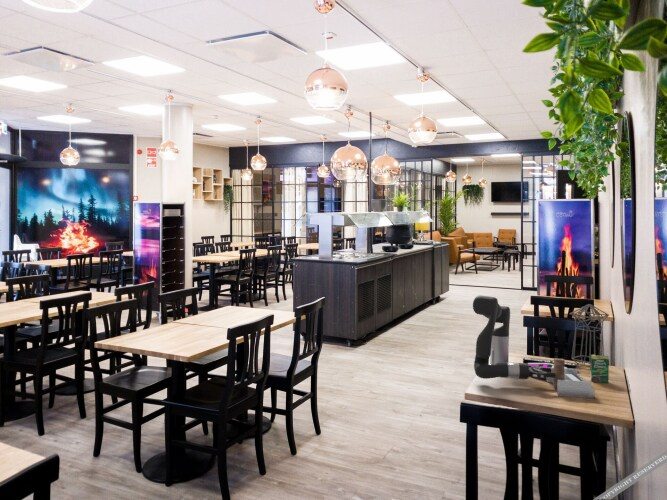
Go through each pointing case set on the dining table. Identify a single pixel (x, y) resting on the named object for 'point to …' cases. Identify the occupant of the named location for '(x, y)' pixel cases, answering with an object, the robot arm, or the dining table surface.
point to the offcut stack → (571, 377)
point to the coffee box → (599, 368)
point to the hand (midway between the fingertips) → (553, 372)
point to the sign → (546, 363)
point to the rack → (573, 385)
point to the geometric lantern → (587, 331)
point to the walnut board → (558, 371)
